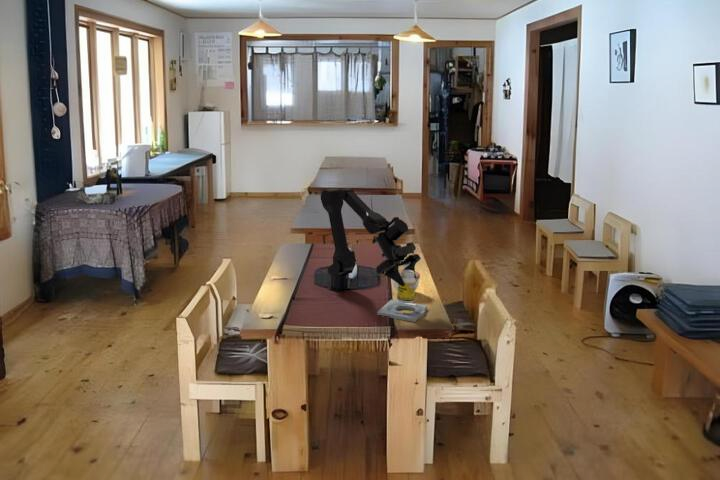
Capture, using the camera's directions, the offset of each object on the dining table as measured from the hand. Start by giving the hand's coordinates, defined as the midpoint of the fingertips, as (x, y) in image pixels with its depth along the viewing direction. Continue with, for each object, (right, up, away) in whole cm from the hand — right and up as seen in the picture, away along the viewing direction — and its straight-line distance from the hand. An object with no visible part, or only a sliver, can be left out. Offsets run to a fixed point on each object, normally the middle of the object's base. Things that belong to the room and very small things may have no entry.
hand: (409, 284), depth 270 cm
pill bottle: (-1, -6, +2) cm, 7 cm away
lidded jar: (0, -5, +27) cm, 27 cm away
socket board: (-2, -10, +4) cm, 11 cm away
